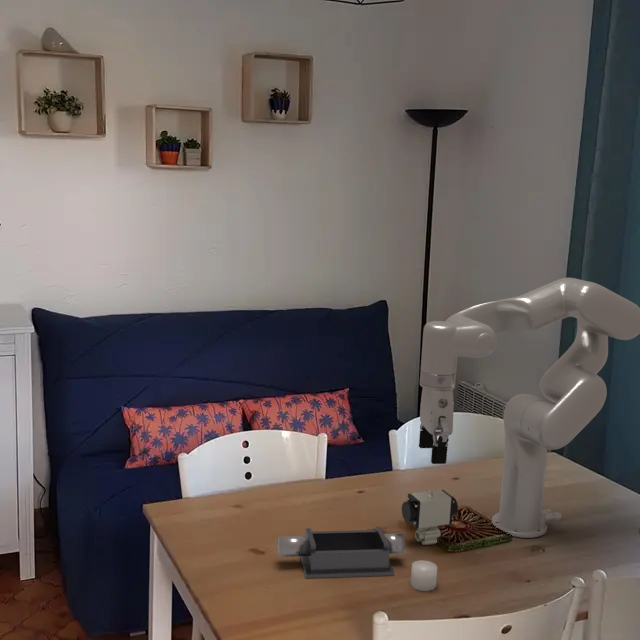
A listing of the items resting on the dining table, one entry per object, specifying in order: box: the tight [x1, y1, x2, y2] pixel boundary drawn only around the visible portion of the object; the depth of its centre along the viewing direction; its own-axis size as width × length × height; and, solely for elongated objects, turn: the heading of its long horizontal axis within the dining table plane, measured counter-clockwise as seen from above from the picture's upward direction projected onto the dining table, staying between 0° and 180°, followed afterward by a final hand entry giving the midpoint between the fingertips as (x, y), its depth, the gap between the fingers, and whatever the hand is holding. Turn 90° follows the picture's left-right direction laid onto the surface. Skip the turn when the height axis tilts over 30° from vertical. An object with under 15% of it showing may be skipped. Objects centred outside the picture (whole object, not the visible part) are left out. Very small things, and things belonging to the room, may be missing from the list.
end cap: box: [410, 559, 438, 592], centre depth 166 cm, size 5×5×4 cm
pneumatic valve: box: [401, 489, 459, 546], centre depth 185 cm, size 6×12×12 cm, turn 112°
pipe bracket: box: [277, 526, 406, 579], centre depth 174 cm, size 26×12×6 cm, turn 99°
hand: (432, 455), depth 182 cm, fingers open, 9 cm apart
